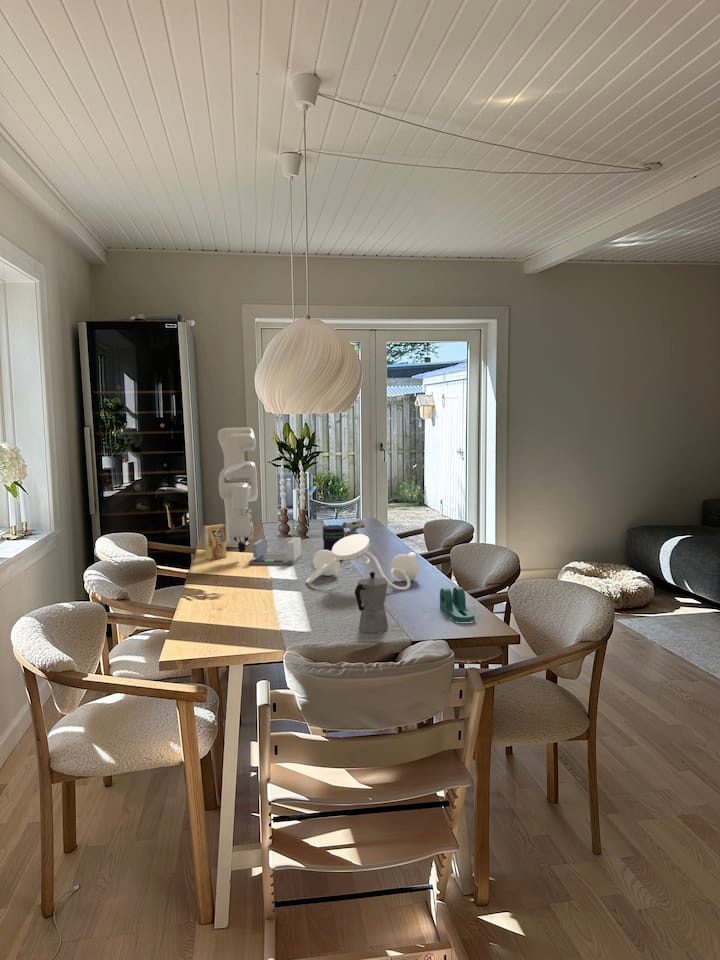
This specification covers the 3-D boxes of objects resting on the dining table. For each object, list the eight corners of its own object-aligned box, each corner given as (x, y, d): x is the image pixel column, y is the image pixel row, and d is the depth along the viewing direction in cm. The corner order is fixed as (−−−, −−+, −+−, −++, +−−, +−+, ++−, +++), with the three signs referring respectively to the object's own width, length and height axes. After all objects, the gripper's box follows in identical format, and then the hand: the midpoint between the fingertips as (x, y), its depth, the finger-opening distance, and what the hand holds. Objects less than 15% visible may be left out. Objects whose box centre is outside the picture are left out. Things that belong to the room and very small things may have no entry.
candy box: (222, 555, 323) (221, 524, 322) (227, 557, 320) (225, 525, 318) (205, 558, 318) (204, 526, 316) (209, 560, 314) (208, 527, 313)
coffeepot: (373, 620, 220) (372, 565, 218) (397, 625, 214) (396, 569, 212) (344, 634, 208) (342, 576, 206) (369, 639, 202) (368, 580, 200)
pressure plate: (261, 553, 317) (260, 539, 316) (264, 553, 317) (263, 539, 316) (251, 560, 303) (251, 545, 302) (255, 560, 303) (254, 545, 302)
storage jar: (333, 562, 304) (332, 529, 302) (318, 559, 310) (317, 527, 309) (349, 558, 311) (348, 526, 309) (334, 556, 317) (333, 524, 316)
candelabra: (400, 558, 242) (425, 520, 275) (285, 553, 257) (322, 517, 290) (404, 610, 247) (429, 566, 281) (292, 601, 263) (328, 561, 296)
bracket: (439, 608, 232) (439, 586, 231) (458, 607, 233) (458, 584, 232) (457, 625, 214) (457, 600, 213) (477, 623, 216) (477, 599, 215)
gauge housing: (260, 556, 320) (259, 536, 319) (302, 556, 318) (301, 536, 317) (249, 565, 303) (248, 544, 302) (293, 565, 300) (292, 544, 299)
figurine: (368, 552, 323) (367, 521, 321) (344, 554, 321) (344, 522, 319) (364, 548, 332) (363, 518, 330) (341, 550, 330) (340, 519, 328)
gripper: (258, 510, 313) (260, 549, 315) (227, 510, 315) (228, 549, 317) (253, 513, 305) (255, 553, 307) (221, 513, 307) (223, 553, 309)
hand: (242, 551), depth 312 cm, fingers closed
